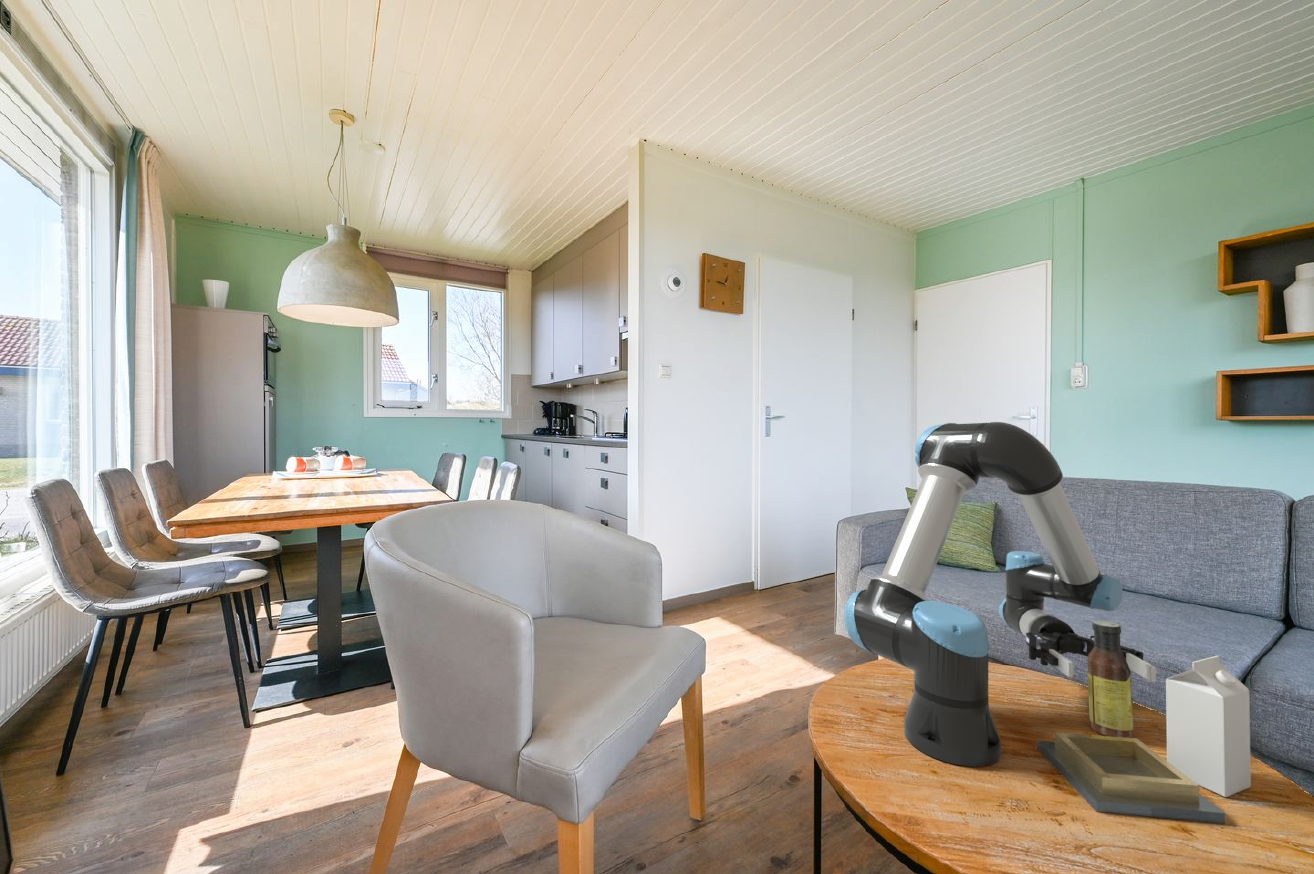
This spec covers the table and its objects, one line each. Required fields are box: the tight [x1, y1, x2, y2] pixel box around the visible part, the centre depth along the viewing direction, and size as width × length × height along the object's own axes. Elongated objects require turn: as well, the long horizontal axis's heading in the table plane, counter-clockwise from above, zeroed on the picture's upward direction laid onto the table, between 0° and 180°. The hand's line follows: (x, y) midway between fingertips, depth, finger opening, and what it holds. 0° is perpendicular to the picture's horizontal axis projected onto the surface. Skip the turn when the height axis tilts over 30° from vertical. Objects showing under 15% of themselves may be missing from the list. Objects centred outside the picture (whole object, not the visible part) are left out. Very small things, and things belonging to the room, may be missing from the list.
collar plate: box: [1036, 731, 1226, 825], centre depth 84 cm, size 16×16×4 cm
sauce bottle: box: [1086, 619, 1135, 738], centre depth 99 cm, size 7×6×20 cm
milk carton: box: [1165, 655, 1252, 798], centre depth 85 cm, size 7×7×19 cm
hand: (1112, 672), depth 99 cm, fingers open, 13 cm apart
